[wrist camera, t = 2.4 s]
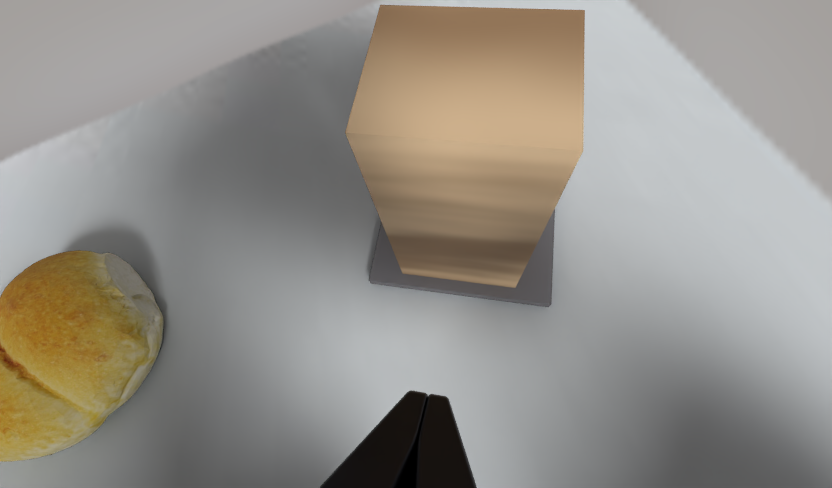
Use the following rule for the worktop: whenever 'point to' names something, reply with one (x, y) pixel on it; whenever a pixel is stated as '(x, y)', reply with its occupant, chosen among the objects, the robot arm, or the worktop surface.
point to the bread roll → (71, 349)
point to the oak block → (469, 133)
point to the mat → (529, 288)
